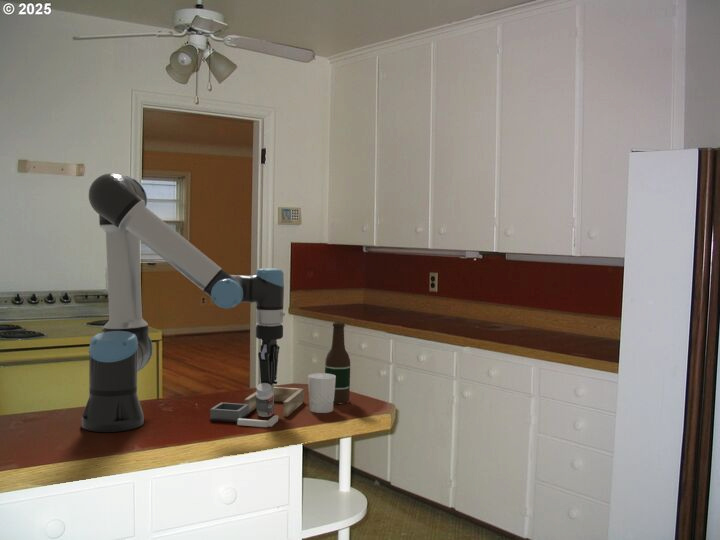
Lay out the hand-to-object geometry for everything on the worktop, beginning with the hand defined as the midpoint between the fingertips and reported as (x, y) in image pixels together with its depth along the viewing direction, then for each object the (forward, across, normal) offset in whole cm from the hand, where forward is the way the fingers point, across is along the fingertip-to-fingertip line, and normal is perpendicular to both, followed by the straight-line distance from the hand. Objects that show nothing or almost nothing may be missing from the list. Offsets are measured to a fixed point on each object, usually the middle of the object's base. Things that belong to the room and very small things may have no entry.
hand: (268, 407), depth 204 cm
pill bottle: (+1, -3, 0) cm, 3 cm away
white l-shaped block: (+1, -11, 0) cm, 11 cm away
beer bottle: (+2, +19, -16) cm, 25 cm away
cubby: (+2, +7, 0) cm, 7 cm away
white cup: (+2, +7, -14) cm, 16 cm away
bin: (+1, -8, +9) cm, 11 cm away
